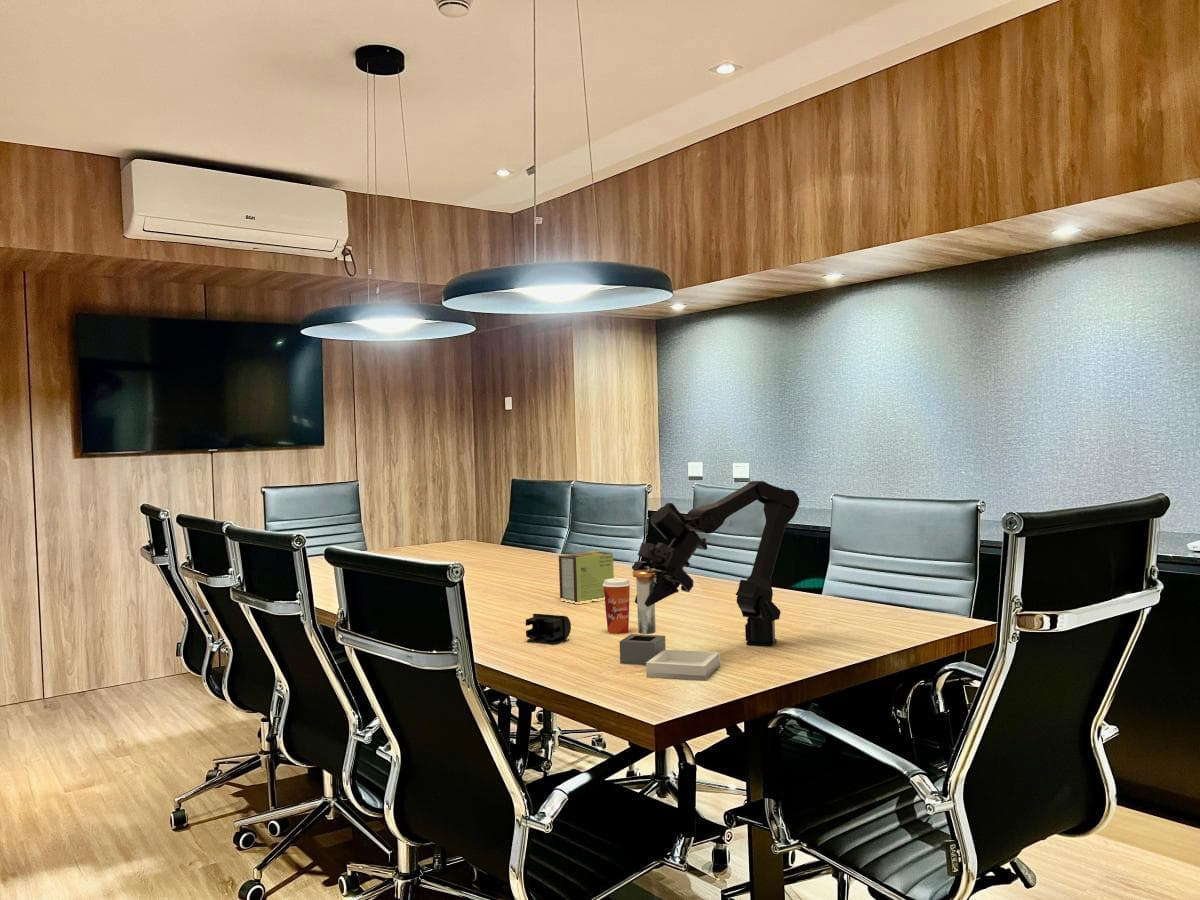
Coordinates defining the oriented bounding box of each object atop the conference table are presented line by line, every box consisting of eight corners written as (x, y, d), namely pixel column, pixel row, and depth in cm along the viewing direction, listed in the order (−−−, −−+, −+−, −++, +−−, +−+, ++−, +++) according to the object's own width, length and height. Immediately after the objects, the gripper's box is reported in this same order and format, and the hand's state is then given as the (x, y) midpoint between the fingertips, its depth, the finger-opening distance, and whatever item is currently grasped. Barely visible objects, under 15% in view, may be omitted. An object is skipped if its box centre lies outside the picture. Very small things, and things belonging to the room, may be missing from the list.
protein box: (615, 599, 294) (613, 552, 294) (577, 605, 285) (575, 557, 285) (596, 596, 302) (595, 550, 302) (559, 601, 293) (557, 554, 293)
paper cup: (608, 635, 235) (607, 582, 235) (600, 630, 242) (598, 579, 242) (636, 633, 237) (634, 580, 237) (627, 627, 244) (626, 577, 244)
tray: (719, 666, 197) (719, 652, 197) (705, 680, 185) (705, 666, 185) (664, 662, 202) (663, 649, 202) (646, 676, 190) (646, 662, 190)
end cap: (571, 640, 231) (571, 614, 231) (556, 645, 225) (555, 618, 225) (540, 637, 236) (539, 611, 236) (524, 642, 230) (524, 616, 230)
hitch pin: (661, 629, 205) (659, 569, 205) (655, 635, 200) (653, 573, 200) (638, 629, 207) (636, 569, 207) (632, 634, 202) (629, 573, 201)
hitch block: (665, 657, 208) (665, 635, 208) (655, 665, 200) (654, 643, 200) (632, 655, 211) (631, 634, 211) (620, 663, 203) (619, 641, 203)
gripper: (637, 527, 214) (598, 577, 208) (680, 532, 197) (640, 586, 192) (665, 557, 217) (628, 607, 212) (710, 564, 201) (671, 618, 196)
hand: (641, 604), depth 203 cm, fingers closed on hitch pin, 4 cm apart
